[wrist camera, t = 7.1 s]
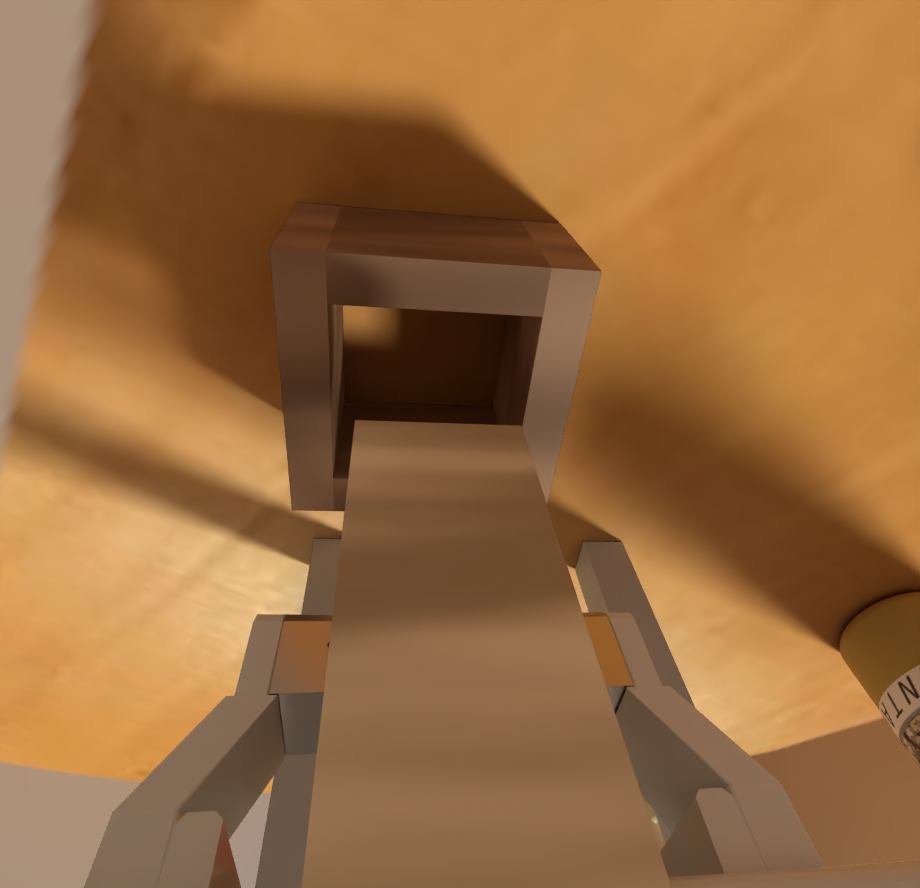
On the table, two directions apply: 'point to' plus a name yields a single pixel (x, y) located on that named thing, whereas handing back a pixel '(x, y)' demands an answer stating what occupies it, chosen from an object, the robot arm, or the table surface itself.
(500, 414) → the socket
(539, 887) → the peg
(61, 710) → the table surface
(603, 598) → the u-shaped bar frame
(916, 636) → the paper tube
